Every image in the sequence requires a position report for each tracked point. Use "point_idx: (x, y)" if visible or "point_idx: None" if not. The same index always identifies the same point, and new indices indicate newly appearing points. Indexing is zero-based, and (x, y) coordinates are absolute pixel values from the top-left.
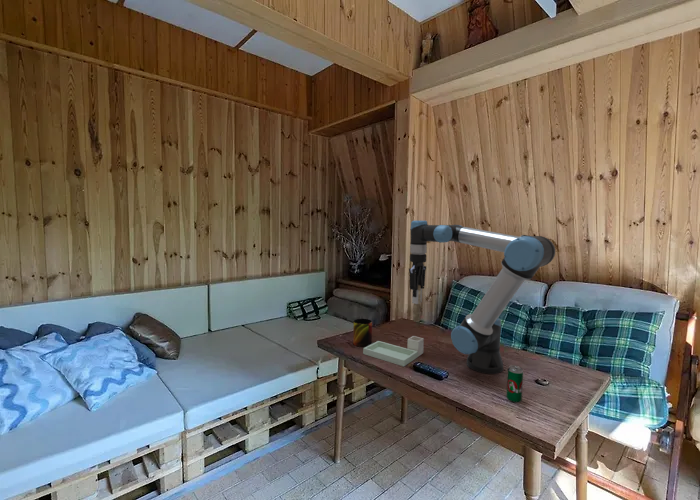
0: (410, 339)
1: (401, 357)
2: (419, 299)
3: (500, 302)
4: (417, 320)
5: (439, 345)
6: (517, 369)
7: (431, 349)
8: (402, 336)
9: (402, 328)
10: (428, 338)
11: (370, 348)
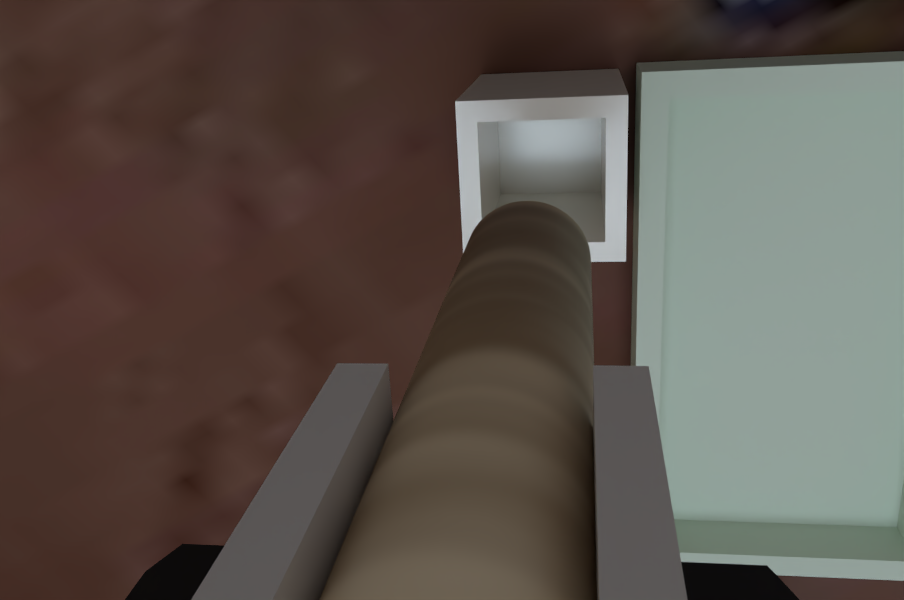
0: (620, 222)
1: (775, 197)
2: (500, 425)
3: None
4: (570, 224)
5: (110, 62)
6: None
7: (281, 75)
8: (196, 484)
9: (15, 581)
10: (32, 257)
11: (819, 541)
